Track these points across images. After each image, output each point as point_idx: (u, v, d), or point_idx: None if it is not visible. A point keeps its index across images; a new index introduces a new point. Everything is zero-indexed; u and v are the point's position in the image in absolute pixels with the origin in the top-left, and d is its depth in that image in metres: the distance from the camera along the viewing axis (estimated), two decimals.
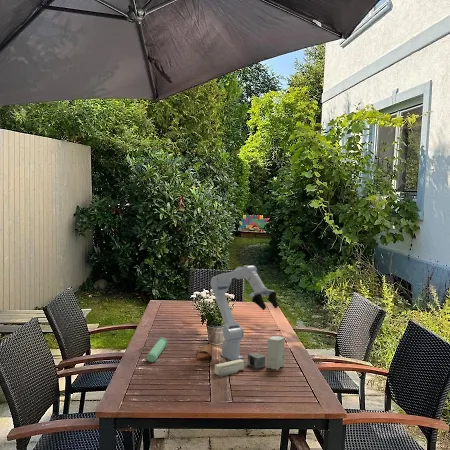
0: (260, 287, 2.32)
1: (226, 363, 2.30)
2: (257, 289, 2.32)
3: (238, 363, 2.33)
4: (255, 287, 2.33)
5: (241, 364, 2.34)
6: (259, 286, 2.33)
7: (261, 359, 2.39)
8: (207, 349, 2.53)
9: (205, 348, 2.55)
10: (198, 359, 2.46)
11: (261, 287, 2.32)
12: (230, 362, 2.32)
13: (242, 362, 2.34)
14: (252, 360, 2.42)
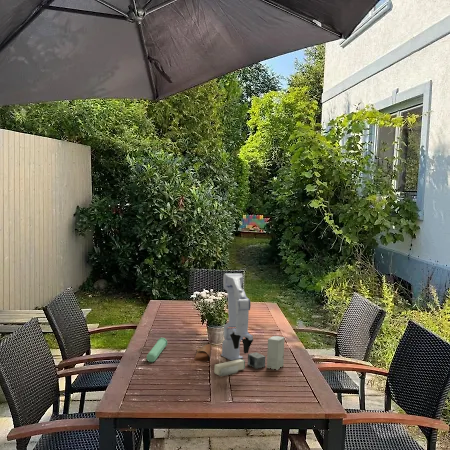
0: (236, 329, 2.34)
1: (226, 363, 2.30)
2: None
3: (238, 363, 2.33)
4: None
5: (241, 364, 2.34)
6: (236, 327, 2.34)
7: (261, 359, 2.39)
8: (206, 349, 2.53)
9: (204, 348, 2.55)
10: (196, 359, 2.46)
11: (236, 330, 2.34)
12: (230, 362, 2.32)
13: (242, 362, 2.34)
14: (252, 360, 2.42)
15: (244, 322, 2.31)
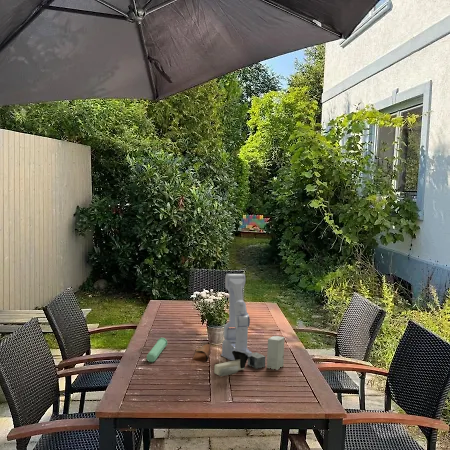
0: (235, 345, 2.34)
1: (226, 363, 2.30)
2: None
3: (238, 363, 2.33)
4: None
5: None
6: (235, 343, 2.35)
7: (261, 359, 2.39)
8: (204, 349, 2.53)
9: (202, 348, 2.55)
10: (194, 359, 2.46)
11: (235, 346, 2.34)
12: (230, 362, 2.32)
13: None
14: (252, 360, 2.42)
15: (243, 338, 2.32)
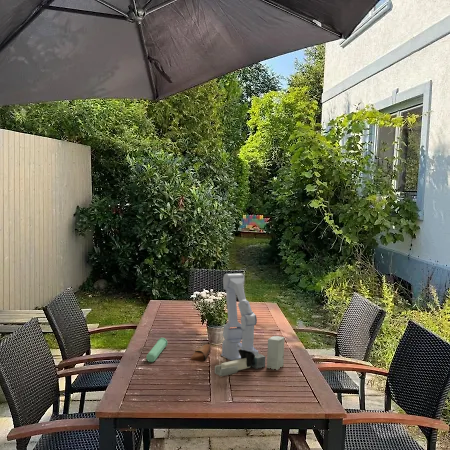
0: (241, 344, 2.37)
1: (232, 362, 2.32)
2: None
3: (245, 362, 2.35)
4: None
5: None
6: (242, 342, 2.37)
7: (261, 359, 2.39)
8: (203, 349, 2.53)
9: (202, 348, 2.55)
10: (192, 358, 2.47)
11: (242, 344, 2.36)
12: (236, 361, 2.34)
13: None
14: None
15: (251, 337, 2.35)
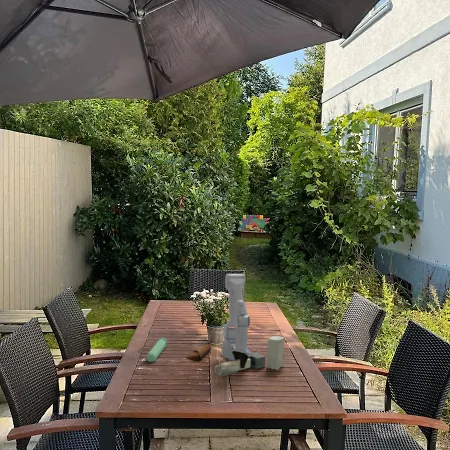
0: (235, 345, 2.34)
1: (232, 362, 2.32)
2: None
3: None
4: None
5: (247, 363, 2.36)
6: (235, 343, 2.35)
7: (261, 359, 2.39)
8: (201, 349, 2.53)
9: (200, 347, 2.55)
10: (188, 357, 2.48)
11: (235, 346, 2.34)
12: (236, 361, 2.34)
13: (248, 361, 2.36)
14: (252, 360, 2.42)
15: (243, 338, 2.32)
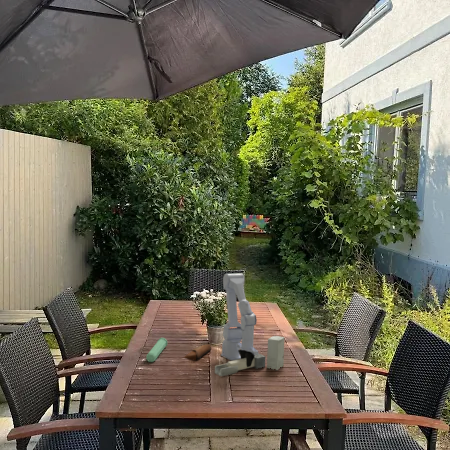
0: (241, 344, 2.37)
1: (239, 360, 2.35)
2: None
3: None
4: None
5: (253, 361, 2.38)
6: None
7: (261, 359, 2.39)
8: (199, 348, 2.53)
9: (199, 347, 2.56)
10: (186, 357, 2.49)
11: (241, 344, 2.36)
12: (242, 359, 2.36)
13: (254, 359, 2.39)
14: None
15: (251, 337, 2.34)
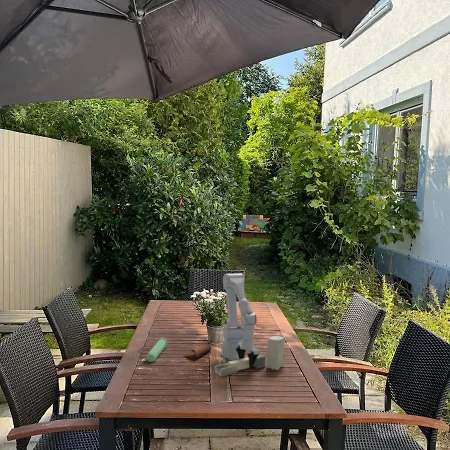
0: (241, 343, 2.37)
1: (239, 360, 2.35)
2: None
3: None
4: None
5: None
6: None
7: (261, 359, 2.39)
8: (199, 348, 2.54)
9: (198, 347, 2.56)
10: (185, 356, 2.49)
11: (241, 344, 2.36)
12: (242, 359, 2.36)
13: None
14: None
15: (251, 336, 2.34)
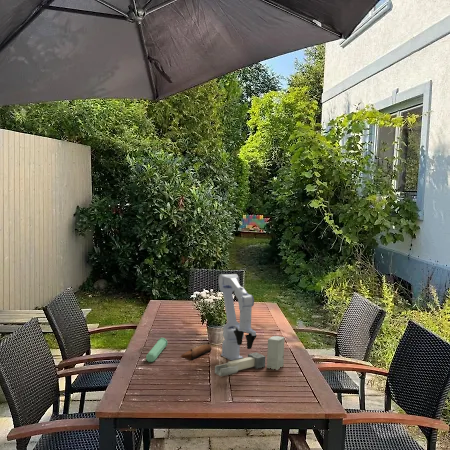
0: (239, 325, 2.37)
1: (239, 360, 2.35)
2: None
3: (251, 361, 2.37)
4: None
5: (253, 361, 2.38)
6: (239, 323, 2.38)
7: (261, 359, 2.39)
8: (197, 348, 2.54)
9: (197, 347, 2.56)
10: (182, 356, 2.50)
11: (239, 326, 2.37)
12: (242, 359, 2.36)
13: (254, 359, 2.39)
14: None
15: (248, 318, 2.35)
